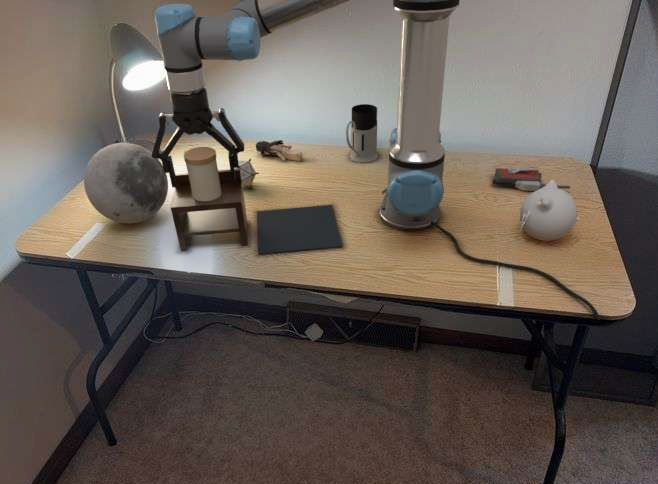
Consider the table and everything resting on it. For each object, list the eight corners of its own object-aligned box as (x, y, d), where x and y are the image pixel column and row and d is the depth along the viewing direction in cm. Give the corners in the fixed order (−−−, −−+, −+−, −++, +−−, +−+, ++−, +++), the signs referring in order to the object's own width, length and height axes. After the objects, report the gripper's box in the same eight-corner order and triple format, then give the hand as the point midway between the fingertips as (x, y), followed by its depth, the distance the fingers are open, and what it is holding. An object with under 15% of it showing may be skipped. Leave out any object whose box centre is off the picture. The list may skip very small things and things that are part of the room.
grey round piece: (569, 259, 121) (583, 212, 113) (509, 246, 125) (519, 200, 118) (576, 227, 131) (590, 181, 123) (521, 216, 136) (531, 171, 128)
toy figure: (305, 154, 171) (261, 148, 174) (305, 136, 166) (259, 130, 169) (299, 166, 166) (253, 160, 169) (298, 148, 161) (251, 142, 164)
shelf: (247, 222, 139) (240, 168, 129) (247, 245, 130) (239, 189, 121) (184, 227, 137) (172, 174, 128) (180, 251, 129) (167, 196, 120)
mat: (331, 206, 143) (331, 204, 143) (342, 247, 128) (342, 245, 128) (256, 212, 142) (256, 211, 142) (258, 255, 127) (258, 253, 126)
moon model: (86, 239, 135) (59, 165, 122) (111, 200, 150) (89, 131, 138) (165, 237, 134) (146, 163, 122) (182, 198, 150) (166, 128, 137)
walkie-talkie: (492, 190, 147) (569, 194, 144) (494, 176, 144) (573, 179, 141) (489, 176, 154) (563, 179, 150) (492, 161, 151) (567, 164, 148)
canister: (222, 186, 129) (216, 145, 123) (221, 200, 123) (214, 158, 117) (193, 188, 128) (184, 148, 122) (190, 202, 123) (182, 161, 117)
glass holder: (383, 154, 168) (384, 106, 158) (359, 172, 159) (360, 122, 149) (358, 148, 172) (359, 101, 162) (334, 165, 163) (333, 116, 153)
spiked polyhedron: (246, 201, 155) (238, 186, 145) (225, 184, 157) (215, 168, 147) (267, 178, 156) (259, 162, 146) (245, 162, 158) (237, 145, 148)
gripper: (248, 79, 115) (258, 171, 128) (129, 87, 113) (151, 179, 126) (248, 91, 109) (258, 185, 122) (122, 99, 107) (147, 194, 120)
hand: (204, 182), depth 124 cm, fingers open, 13 cm apart
